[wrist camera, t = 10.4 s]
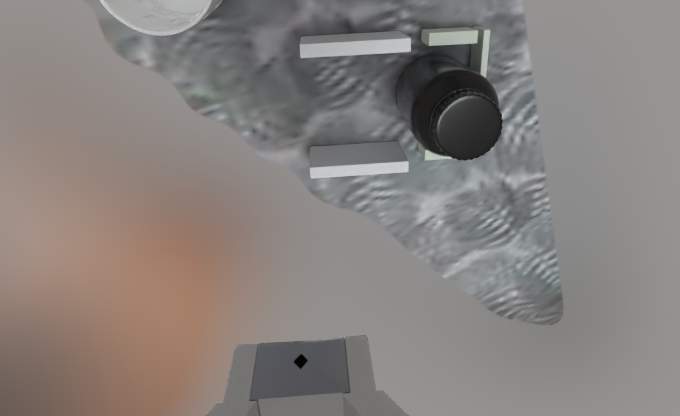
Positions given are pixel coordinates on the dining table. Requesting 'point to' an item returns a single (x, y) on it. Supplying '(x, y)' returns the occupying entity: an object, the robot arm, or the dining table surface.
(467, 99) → the supplement bottle
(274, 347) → the robot arm
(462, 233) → the dining table surface
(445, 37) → the dock
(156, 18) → the white cup
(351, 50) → the channel
